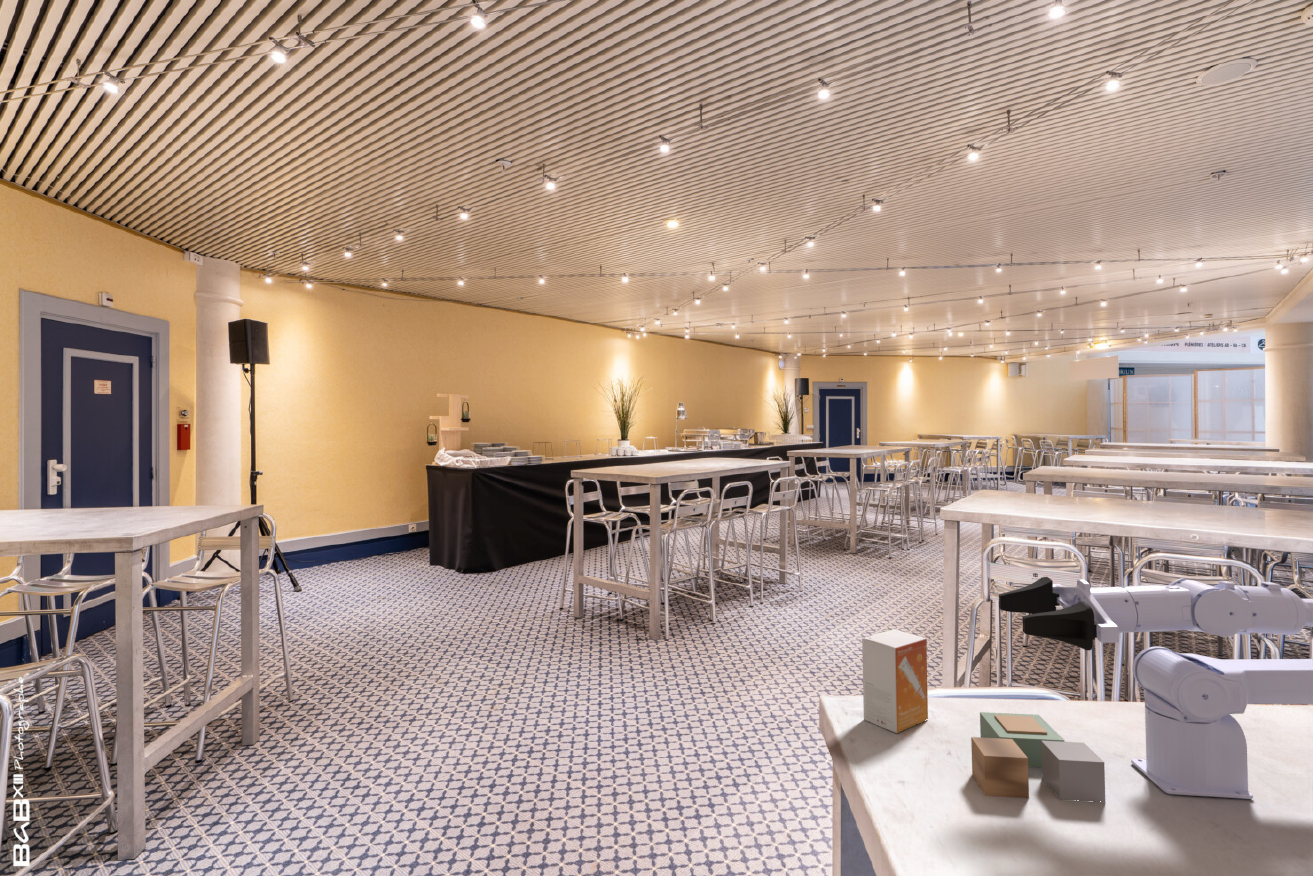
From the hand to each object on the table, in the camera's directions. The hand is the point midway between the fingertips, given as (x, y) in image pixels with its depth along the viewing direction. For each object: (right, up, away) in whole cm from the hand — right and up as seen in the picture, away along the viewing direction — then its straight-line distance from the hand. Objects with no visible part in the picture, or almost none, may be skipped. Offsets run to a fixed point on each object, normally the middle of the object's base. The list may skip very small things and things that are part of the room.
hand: (1011, 613), depth 84 cm
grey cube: (+5, -21, -5) cm, 22 cm away
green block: (+4, -21, +5) cm, 22 cm away
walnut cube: (-3, -21, -3) cm, 22 cm away
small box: (-9, -21, +16) cm, 28 cm away
